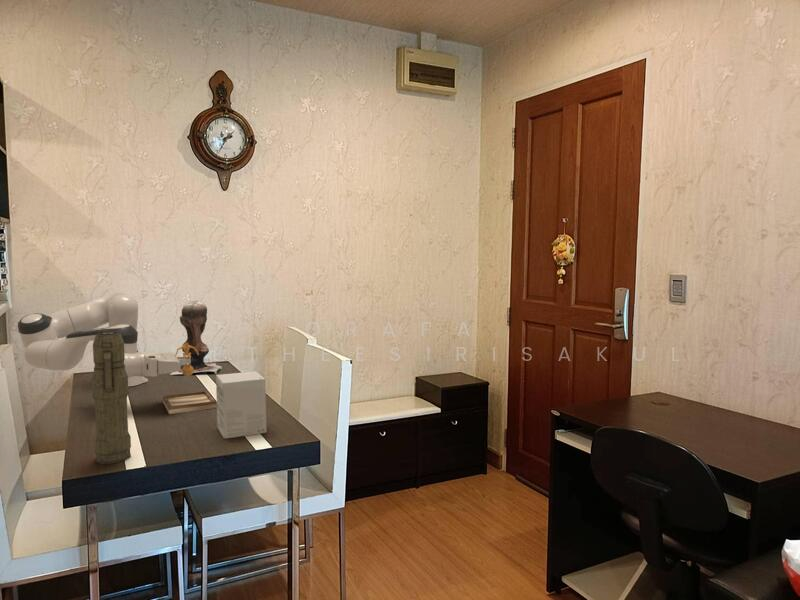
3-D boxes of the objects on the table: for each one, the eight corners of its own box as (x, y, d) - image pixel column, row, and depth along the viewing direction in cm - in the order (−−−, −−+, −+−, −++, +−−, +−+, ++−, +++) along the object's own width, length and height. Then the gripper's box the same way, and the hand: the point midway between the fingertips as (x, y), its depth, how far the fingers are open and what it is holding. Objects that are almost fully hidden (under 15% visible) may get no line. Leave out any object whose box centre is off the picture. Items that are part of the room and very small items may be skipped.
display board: (162, 402, 215) (162, 395, 215) (206, 396, 223) (206, 390, 223) (169, 414, 199) (168, 407, 199) (216, 408, 207) (215, 401, 207)
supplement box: (257, 421, 191) (256, 370, 189) (267, 433, 179) (266, 378, 178) (216, 427, 185) (215, 374, 183) (223, 439, 173) (222, 382, 172)
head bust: (225, 362, 288) (220, 294, 281) (218, 378, 263) (213, 304, 257) (179, 365, 284) (174, 296, 278) (168, 381, 260) (162, 306, 253)
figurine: (176, 378, 206) (176, 345, 204) (174, 374, 211) (173, 342, 210) (200, 375, 210) (200, 344, 208) (197, 372, 215) (197, 340, 214)
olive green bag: (96, 468, 150) (90, 336, 147) (94, 454, 160) (88, 331, 157) (133, 462, 154) (128, 334, 151) (129, 448, 164) (124, 329, 161)
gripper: (146, 367, 213) (185, 363, 219) (152, 377, 195) (194, 373, 202) (146, 350, 212) (185, 347, 219) (151, 359, 194) (194, 356, 201)
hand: (190, 360), depth 210 cm, fingers closed on figurine
